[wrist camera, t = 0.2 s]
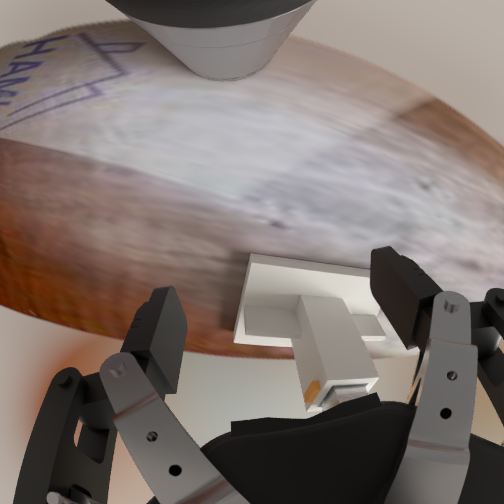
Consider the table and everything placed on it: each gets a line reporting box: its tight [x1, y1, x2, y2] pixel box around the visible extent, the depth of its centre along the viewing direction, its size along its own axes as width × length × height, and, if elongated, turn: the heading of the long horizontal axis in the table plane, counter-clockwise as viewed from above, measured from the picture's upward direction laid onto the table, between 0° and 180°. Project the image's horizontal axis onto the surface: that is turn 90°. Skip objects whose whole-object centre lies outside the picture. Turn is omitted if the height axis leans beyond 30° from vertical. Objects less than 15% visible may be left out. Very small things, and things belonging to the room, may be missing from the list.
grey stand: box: [234, 253, 386, 412], centre depth 28 cm, size 18×12×14 cm, turn 79°
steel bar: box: [321, 383, 368, 412], centre depth 25 cm, size 3×3×17 cm
